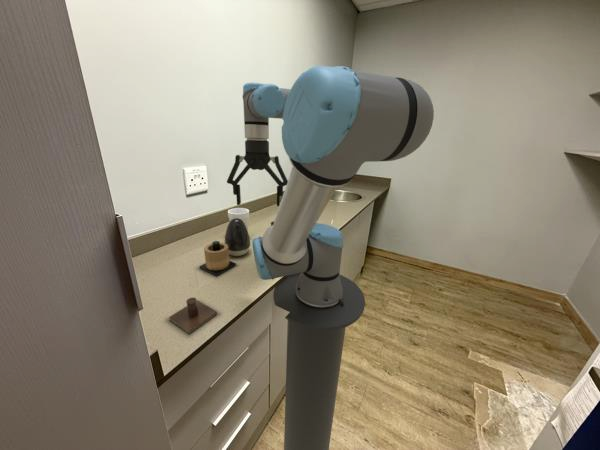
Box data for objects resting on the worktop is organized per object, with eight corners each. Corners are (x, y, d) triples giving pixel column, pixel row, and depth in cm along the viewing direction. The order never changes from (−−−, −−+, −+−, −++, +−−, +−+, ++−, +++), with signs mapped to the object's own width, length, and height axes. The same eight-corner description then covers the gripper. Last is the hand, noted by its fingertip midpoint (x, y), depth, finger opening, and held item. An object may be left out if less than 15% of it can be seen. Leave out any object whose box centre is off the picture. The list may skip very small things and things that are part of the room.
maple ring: (233, 263, 89) (232, 246, 87) (216, 272, 83) (214, 254, 81) (218, 257, 93) (217, 240, 91) (201, 265, 87) (199, 248, 84)
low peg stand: (217, 314, 66) (215, 297, 64) (189, 334, 59) (186, 316, 57) (197, 302, 70) (195, 286, 68) (169, 320, 63) (166, 303, 61)
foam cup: (240, 243, 108) (238, 215, 103) (225, 238, 112) (223, 211, 108) (254, 236, 116) (253, 210, 111) (239, 231, 120) (238, 206, 115)
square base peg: (236, 265, 90) (234, 241, 86) (216, 276, 83) (214, 250, 79) (219, 258, 94) (217, 235, 91) (199, 268, 87) (196, 243, 83)
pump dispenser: (226, 261, 93) (223, 224, 87) (223, 249, 102) (221, 215, 96) (253, 257, 96) (252, 221, 91) (248, 246, 105) (246, 213, 100)
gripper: (296, 141, 81) (294, 202, 88) (220, 138, 80) (225, 200, 87) (296, 141, 74) (294, 208, 81) (213, 138, 73) (219, 206, 80)
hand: (258, 204), depth 84 cm, fingers open, 13 cm apart
